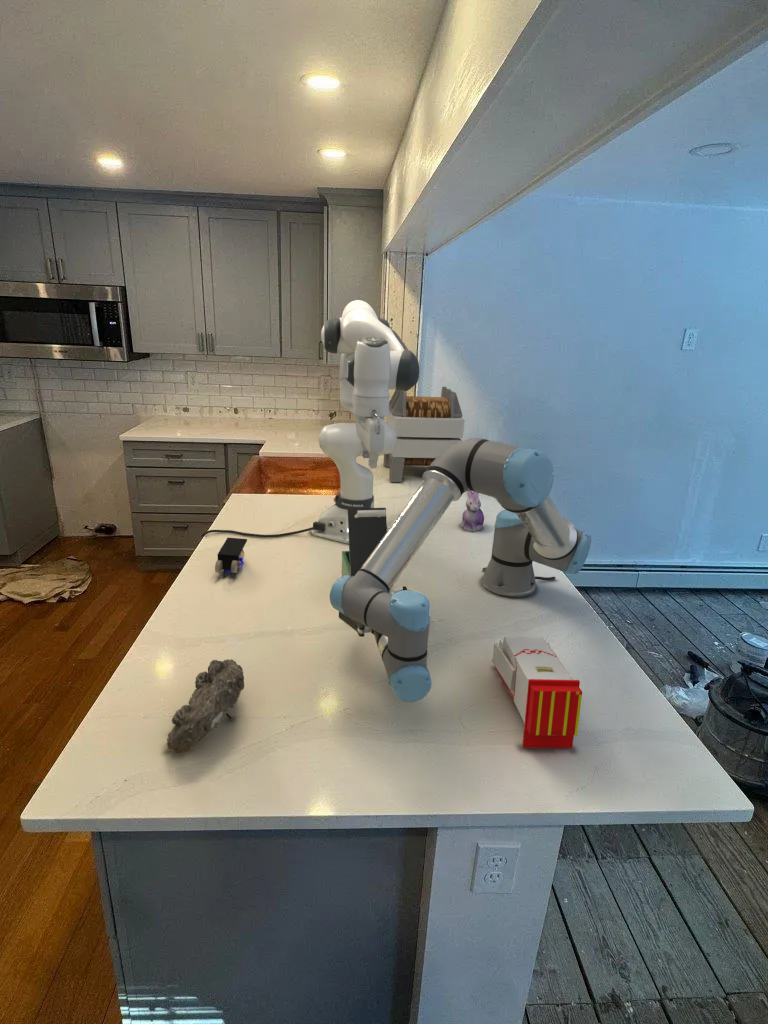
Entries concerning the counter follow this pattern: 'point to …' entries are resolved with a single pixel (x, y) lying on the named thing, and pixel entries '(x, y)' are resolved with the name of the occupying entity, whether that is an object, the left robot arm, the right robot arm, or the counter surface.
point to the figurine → (472, 513)
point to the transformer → (422, 429)
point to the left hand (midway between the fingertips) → (369, 462)
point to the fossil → (206, 705)
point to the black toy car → (230, 556)
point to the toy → (539, 691)
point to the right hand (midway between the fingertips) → (376, 593)
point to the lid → (364, 534)
